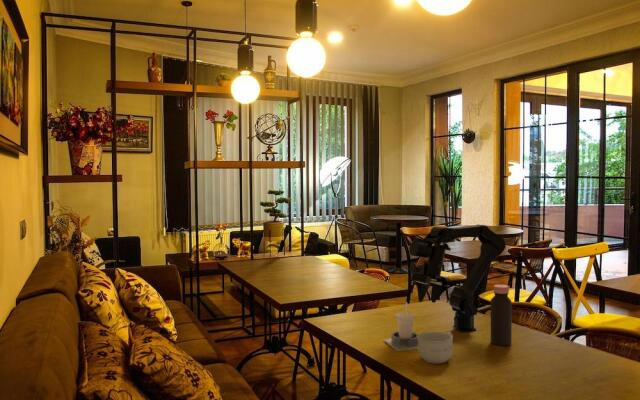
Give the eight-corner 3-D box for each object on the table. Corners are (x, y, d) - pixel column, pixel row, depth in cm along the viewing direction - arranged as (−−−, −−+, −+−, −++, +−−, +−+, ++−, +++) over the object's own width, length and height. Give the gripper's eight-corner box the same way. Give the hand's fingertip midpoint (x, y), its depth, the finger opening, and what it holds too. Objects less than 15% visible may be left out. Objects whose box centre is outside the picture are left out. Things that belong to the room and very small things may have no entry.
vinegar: (514, 342, 173) (514, 285, 172) (506, 347, 168) (506, 289, 167) (495, 338, 177) (495, 283, 176) (487, 343, 172) (487, 286, 171)
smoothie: (413, 345, 168) (413, 305, 168) (394, 344, 170) (394, 303, 169) (415, 339, 175) (415, 300, 174) (397, 338, 176) (396, 299, 176)
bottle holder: (412, 338, 179) (412, 329, 179) (427, 347, 169) (427, 338, 168) (384, 341, 176) (384, 332, 176) (397, 351, 165) (397, 341, 165)
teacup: (432, 369, 150) (432, 343, 150) (410, 358, 159) (410, 333, 159) (467, 361, 156) (467, 335, 156) (443, 350, 166) (443, 326, 166)
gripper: (429, 258, 195) (421, 297, 195) (403, 253, 182) (394, 295, 181) (454, 264, 188) (446, 305, 187) (429, 259, 174) (420, 303, 173)
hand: (426, 302), depth 182 cm, fingers open, 9 cm apart
